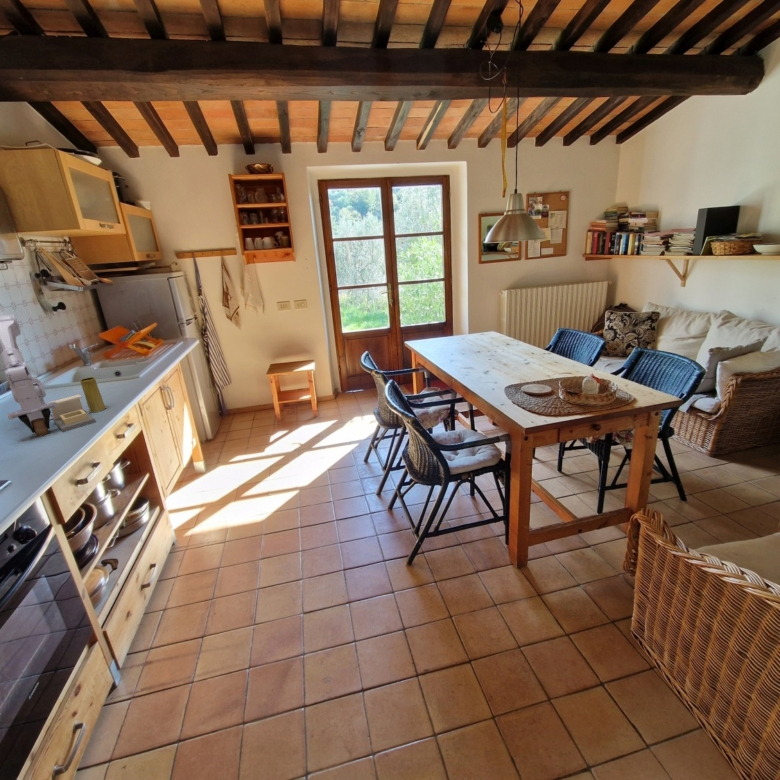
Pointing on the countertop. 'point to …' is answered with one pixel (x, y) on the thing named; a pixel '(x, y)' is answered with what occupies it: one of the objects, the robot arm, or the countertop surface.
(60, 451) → the countertop surface
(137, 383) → the countertop surface
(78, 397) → the socket stand
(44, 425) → the peg
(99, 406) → the vase
